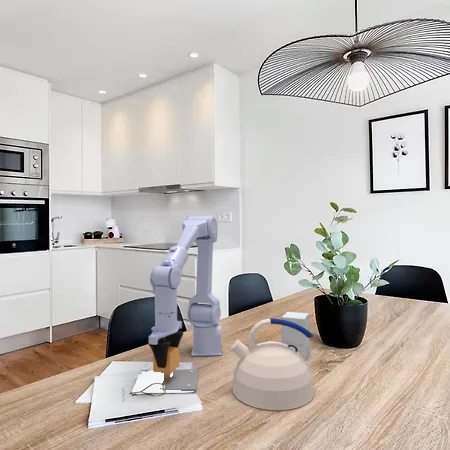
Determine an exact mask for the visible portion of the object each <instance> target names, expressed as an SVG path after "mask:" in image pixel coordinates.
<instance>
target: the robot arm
mask: <svg viewBox="0 0 450 450" xmlns="http://www.w3.org/2000/svg"><path fill="white" fill-rule="evenodd" d="M181 225H182V226H181V228H182V232H181V234H180V236H179V239H178V241H177V243H176V245H173V246H171V247H170V248H169V250H168V251H167V253H166V254H165V257H164V258H162V259H163V260H162V261H161V263H160V264H159V265H156V266H155V267H154V268H152V270H151V272H150V277H149V283H150V286H151V287H152V294H153V295H154V321H155V322H154V326H152V327H151V331H152V333H151V334H150V335H148V341H147V345H148V346H149V347H150V349H151V351H152V354H153V353H154V356H155V360H156V363H157V367H159V368H165V367H166V363H167V354H168V349H169V347H178V348H179V346H180V342H181V340H182V338H183V337H184V331H182V330H180V329H182V328H183V327H182V326H183V324H182V323H183V322H182V321H181V320H178V303H177V302H178V295H177V294H178V293H177V291H178V290H177V289H178V287H179V286H180V285H181V280H182V275H183V268H184V266H186V263H187V260H188V259H189V249H191V247H192V245H193V244H194V243H195V244H196V246H197V256H196V257H197V261H196V264H197V265H196V289H195V295H193V296H192V297H191V298H190V299H189V301H188V306H187V310H186V316H187V317H186V318H187V320H188V321H189V323H190V325H191V326H192V342H193V343H192V349H191V355H190V356H192V357H198V356H199V357H204V356H205V357H206V356H222V353H223V352H222V348H223V341H222V324H221V323H219V322H220V320H221V315H222V313H221V306H220V305H221V304H220V303H221V302H220V300H219V299H218V298H217V297H216V296H215V295H214V294H213V293H212V286H213V284H212V283H213V255H214V254H213V253H214V252H213V251H214V243H216V242H217V241H218V229H219V228H218V227H219V226H218V222H217V219H216V218H215V216H214V215H207V216H206V215H204V216H203V215H199V216H195V215H194V216H189V215H187V216H185V217H184V219H183V220H182V224H181Z"/></svg>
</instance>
